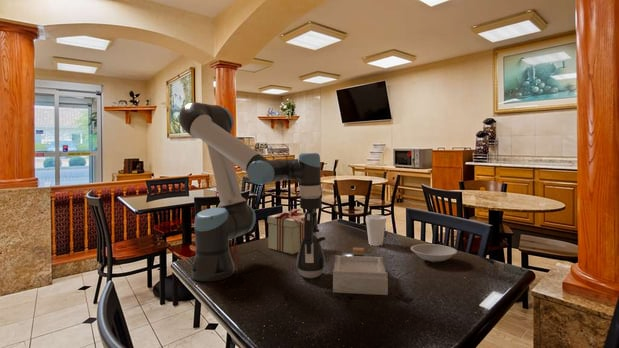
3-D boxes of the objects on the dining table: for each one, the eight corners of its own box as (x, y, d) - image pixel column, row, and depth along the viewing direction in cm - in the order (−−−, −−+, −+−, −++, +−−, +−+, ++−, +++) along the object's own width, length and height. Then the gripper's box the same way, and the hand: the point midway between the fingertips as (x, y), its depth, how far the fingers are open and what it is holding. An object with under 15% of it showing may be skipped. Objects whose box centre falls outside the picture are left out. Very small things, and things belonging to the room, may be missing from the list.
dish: (416, 268, 120) (416, 255, 119) (406, 255, 134) (406, 243, 134) (463, 268, 119) (464, 255, 119) (448, 255, 134) (448, 243, 133)
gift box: (300, 256, 134) (300, 216, 133) (266, 249, 143) (265, 212, 142) (319, 245, 149) (319, 209, 147) (287, 240, 158) (286, 206, 156)
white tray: (332, 292, 100) (332, 267, 100) (336, 265, 123) (336, 245, 122) (387, 295, 98) (388, 270, 98) (380, 267, 121) (380, 246, 120)
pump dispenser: (323, 282, 108) (322, 238, 107) (293, 280, 110) (293, 237, 109) (327, 271, 118) (327, 231, 116) (300, 269, 120) (299, 229, 119)
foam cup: (362, 242, 153) (362, 215, 152) (379, 240, 156) (379, 214, 155) (371, 248, 144) (371, 220, 143) (389, 245, 147) (389, 218, 146)
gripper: (317, 202, 99) (319, 269, 100) (323, 192, 123) (325, 245, 125) (293, 202, 100) (295, 268, 101) (304, 192, 124) (306, 245, 126)
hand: (311, 255), depth 113 cm, fingers open, 13 cm apart
